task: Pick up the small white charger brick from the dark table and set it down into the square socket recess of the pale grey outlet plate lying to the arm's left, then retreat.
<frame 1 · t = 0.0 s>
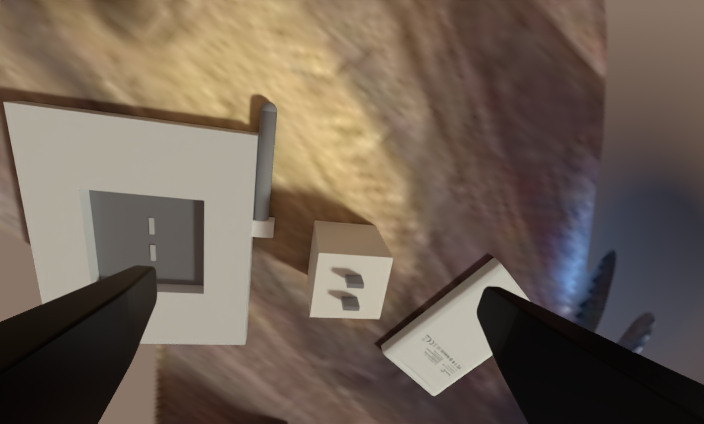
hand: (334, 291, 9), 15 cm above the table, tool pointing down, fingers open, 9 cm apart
charger brick: (341, 250, 25), on the table
outlet plate: (153, 237, 23), on the table
grey bar: (265, 164, 22), on the table
external hard drive: (456, 323, 31), on the table
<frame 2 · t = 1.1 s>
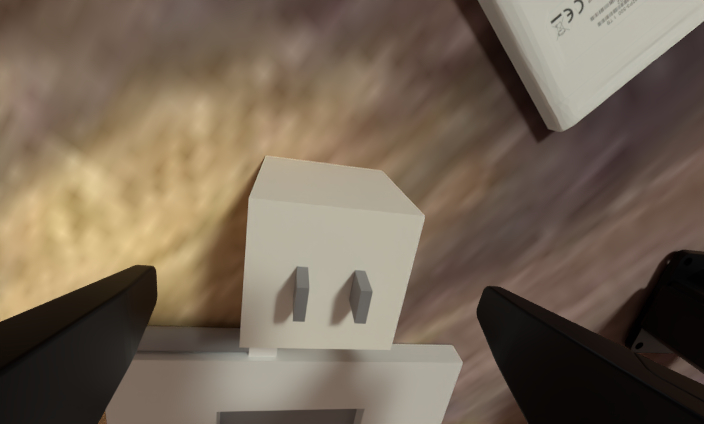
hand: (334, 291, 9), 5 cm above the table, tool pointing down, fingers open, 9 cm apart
charger brick: (318, 216, 14), on the table
grey bar: (164, 330, 15), on the table
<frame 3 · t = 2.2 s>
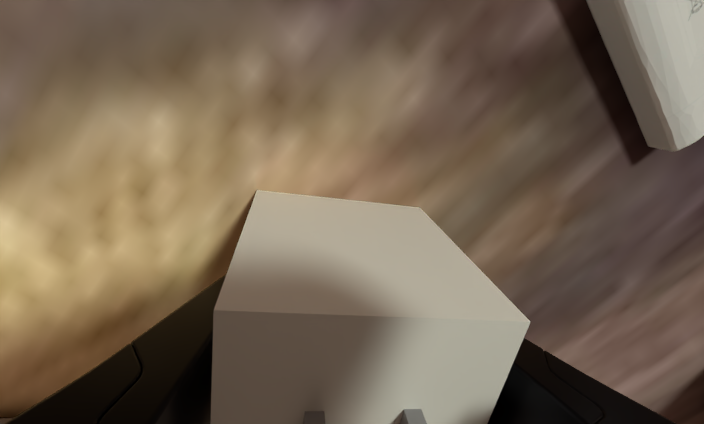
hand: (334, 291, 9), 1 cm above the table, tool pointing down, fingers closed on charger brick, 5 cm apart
charger brick: (330, 270, 10), on the table, touching gripper
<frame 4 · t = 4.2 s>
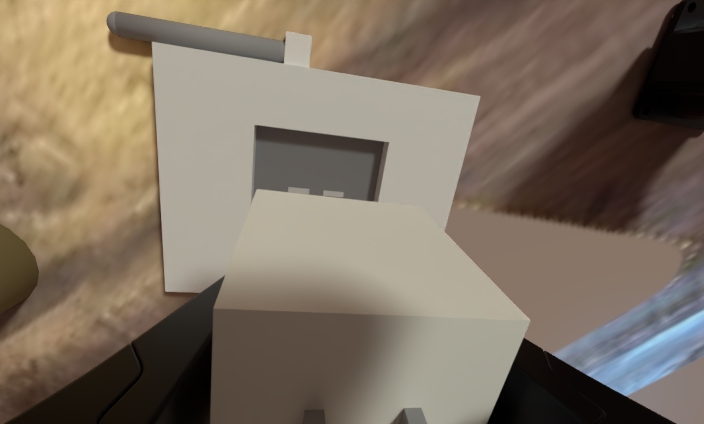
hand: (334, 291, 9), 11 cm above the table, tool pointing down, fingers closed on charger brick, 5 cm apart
charger brick: (330, 270, 10), point 10 cm above the table, touching gripper
outlet plate: (315, 190, 20), on the table
grey bar: (206, 40, 16), on the table
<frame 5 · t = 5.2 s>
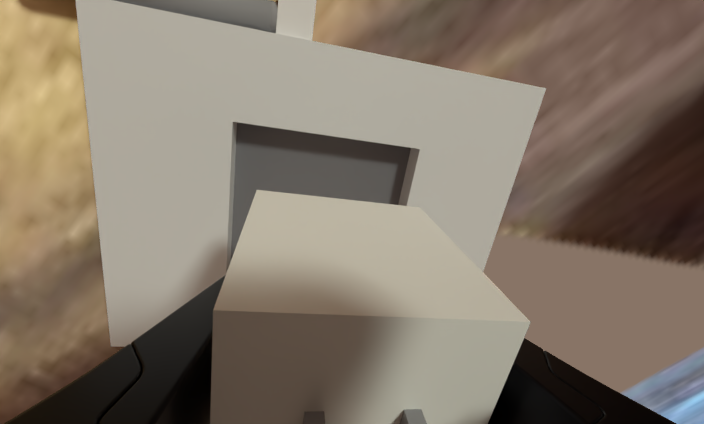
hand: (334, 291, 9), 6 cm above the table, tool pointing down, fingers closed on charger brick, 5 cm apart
charger brick: (330, 270, 10), point 5 cm above the table, touching gripper
outlet plate: (317, 212, 15), on the table
when the fingers open (3 cm above the table, at t = 6.2 s): charger brick drops 1 cm, resting on outlet plate.
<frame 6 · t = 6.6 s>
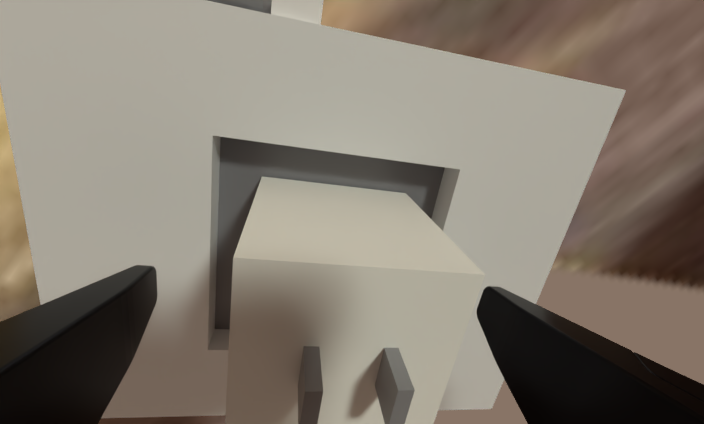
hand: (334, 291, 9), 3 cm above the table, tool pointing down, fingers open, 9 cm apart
charger brick: (326, 249, 11), resting on outlet plate
outlet plate: (325, 246, 12), on the table
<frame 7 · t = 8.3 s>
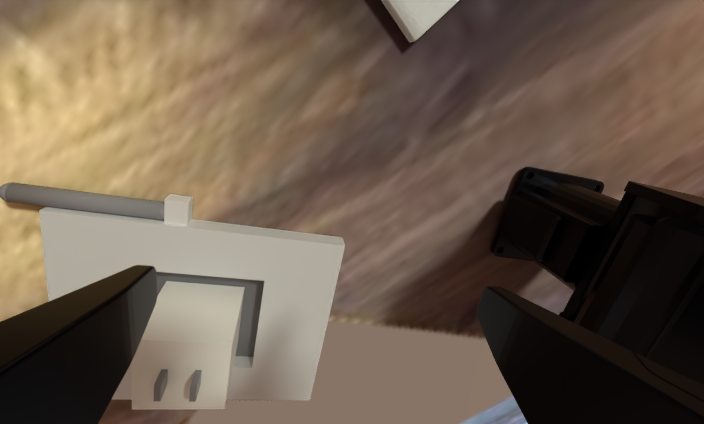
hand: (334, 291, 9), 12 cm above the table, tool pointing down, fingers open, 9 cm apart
charger brick: (204, 314, 22), resting on outlet plate
outlet plate: (204, 311, 22), on the table
grey bar: (96, 199, 18), on the table
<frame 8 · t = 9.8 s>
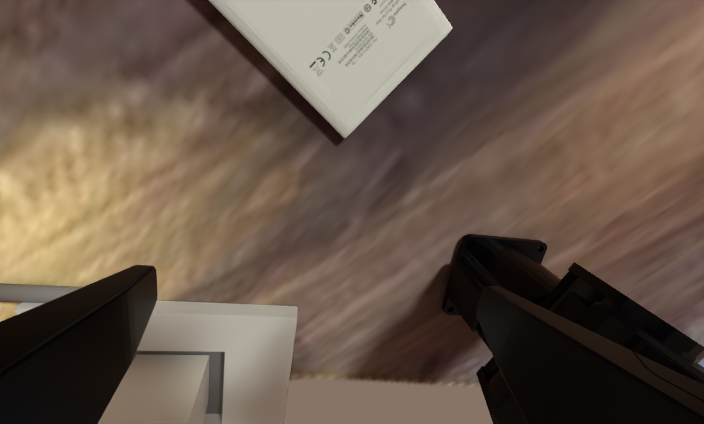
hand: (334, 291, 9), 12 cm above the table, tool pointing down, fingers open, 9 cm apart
charger brick: (174, 380, 24), resting on outlet plate
outlet plate: (175, 376, 24), on the table
grey bar: (67, 290, 20), on the table
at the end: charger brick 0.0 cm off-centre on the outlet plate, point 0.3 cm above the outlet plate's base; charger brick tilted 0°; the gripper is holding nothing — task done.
